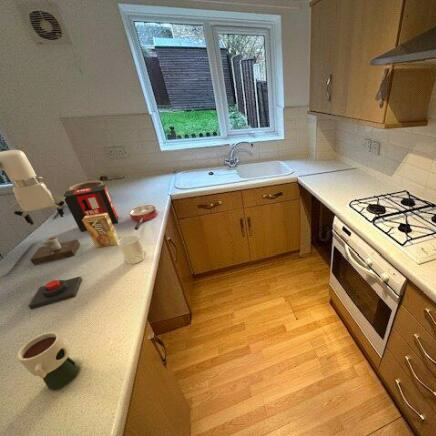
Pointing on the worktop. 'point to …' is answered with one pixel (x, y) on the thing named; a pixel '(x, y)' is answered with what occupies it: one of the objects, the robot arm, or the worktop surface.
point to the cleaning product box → (90, 204)
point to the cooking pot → (86, 185)
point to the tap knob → (52, 244)
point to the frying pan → (142, 214)
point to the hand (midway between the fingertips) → (47, 219)
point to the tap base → (55, 252)
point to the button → (52, 285)
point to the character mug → (48, 360)
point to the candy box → (100, 230)
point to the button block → (56, 293)
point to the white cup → (131, 248)
